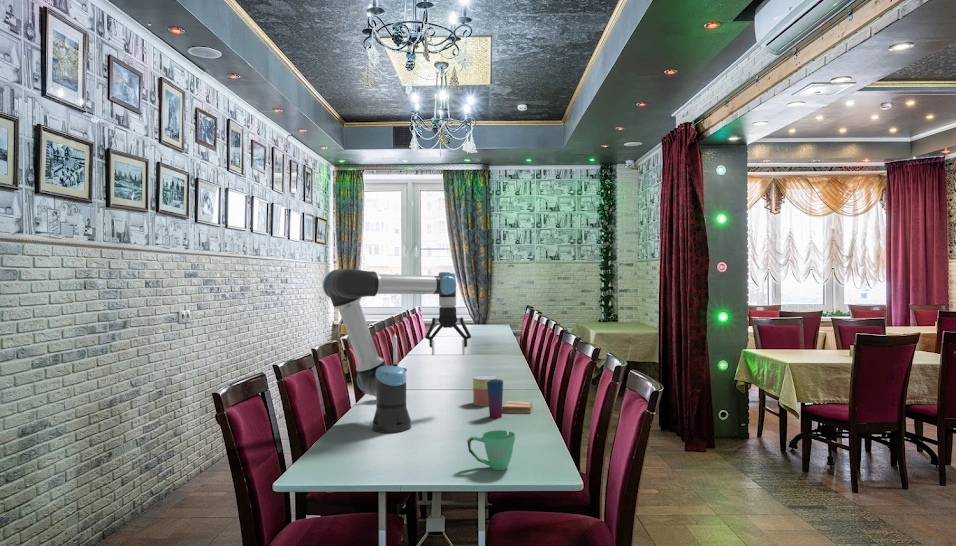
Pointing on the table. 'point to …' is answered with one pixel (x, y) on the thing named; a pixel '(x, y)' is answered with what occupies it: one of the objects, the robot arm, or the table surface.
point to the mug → (495, 448)
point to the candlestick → (395, 350)
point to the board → (517, 407)
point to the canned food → (481, 390)
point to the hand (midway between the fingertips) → (448, 354)
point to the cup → (495, 397)
